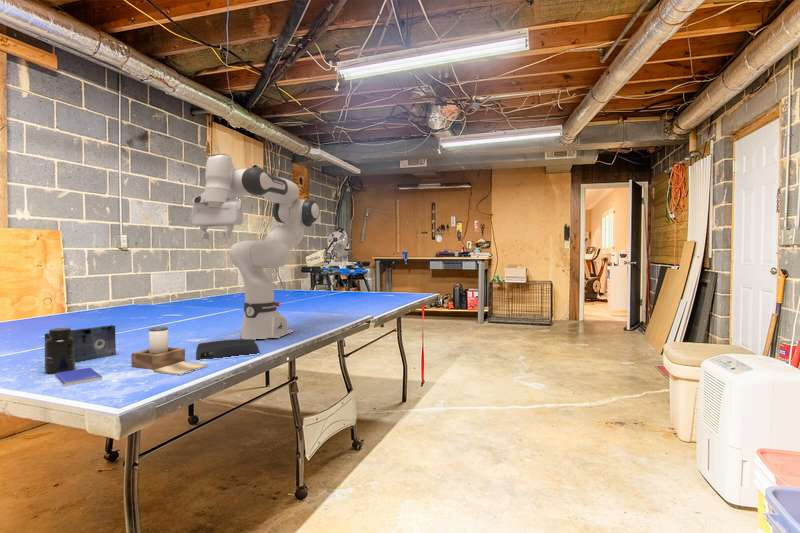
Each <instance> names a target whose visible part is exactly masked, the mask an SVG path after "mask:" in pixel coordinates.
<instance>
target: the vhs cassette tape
mask: <svg viewBox="0 0 800 533" xmlns="http://www.w3.org/2000/svg"><path fill="white" fill-rule="evenodd" d="M70 337H72V338H74V339H75V364H77V363H81V361H82V362H87V361H92V359H93V360H96V359H97V358H98V359H102V358H107V357H112V356H116V353H117V350H116V348H117V344H116V325H113V324H110V325H103V326H102V325H101V326H96V327H95V326H94V327H88V328H78V329H71V335H70ZM48 339H50V337H49V332H48V333H44V343H45V342H46V341H47V340H48ZM86 360H87V361H86ZM76 362H77V363H76Z"/></svg>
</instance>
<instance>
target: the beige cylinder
mask: <svg viewBox="0 0 800 533" xmlns="http://www.w3.org/2000/svg"><path fill="white" fill-rule="evenodd" d="M148 338H149V339H148V347H149V348H148V349H149V353H150V354H161V353H165V352H168V347H169V327H168V326H155V327H154V326H153V327H150V328H148Z"/></svg>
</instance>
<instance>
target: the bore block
mask: <svg viewBox="0 0 800 533" xmlns="http://www.w3.org/2000/svg"><path fill="white" fill-rule="evenodd" d="M183 361H185V362H186V349H185V348H182V347H181V348H180V347H179V348H178V347H172V346H171V347H169V346H168V352H165V353H161V354H150V353H149V348H148V349H145V350H139V351H135V352H132V353H131V368H139V369H145V370H146V369H148V370H155V369H158V368H162V367H165V366H169V365H172V364H176V363H179V362H183Z"/></svg>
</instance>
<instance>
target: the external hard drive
mask: <svg viewBox="0 0 800 533" xmlns="http://www.w3.org/2000/svg"><path fill="white" fill-rule="evenodd" d="M257 353H260V348H259V346H258V344H257V343H256V340H253V339H242V338H241V339H240V338H239V339H224V340H222V339H221V340H213V341H207V342H201V343H198V344H197V346H196V352H195V361H196V360H200V359H213V358H223V357H231V356H239V355H249V354H257ZM260 354H261V353H260ZM200 361H201V360H200Z"/></svg>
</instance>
